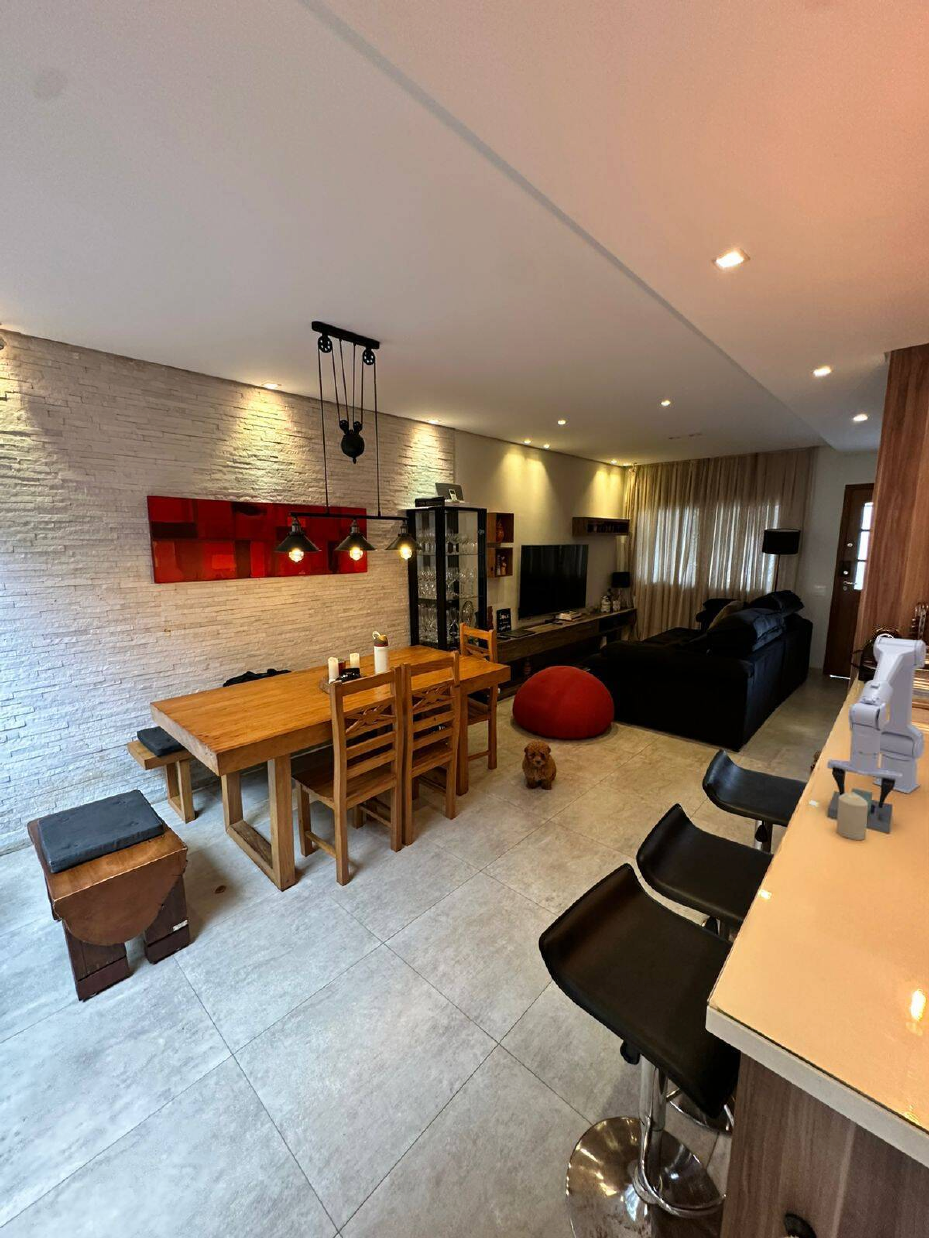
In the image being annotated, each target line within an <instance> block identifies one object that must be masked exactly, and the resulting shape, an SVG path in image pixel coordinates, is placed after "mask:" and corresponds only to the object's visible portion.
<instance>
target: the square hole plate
mask: <svg viewBox="0 0 929 1238" xmlns="http://www.w3.org/2000/svg"><path fill="white" fill-rule="evenodd" d="M839 796H840V793H839V791H836V790H834V792H833V793H832V797H831V801H830V803H829V805H828V809H827V818H829V819H833V820H836V821H837V816H838V801H839ZM892 816H893V804H892V803H891V804H890V803H886V802H884V803H883V806H882V808H879V800H873V799H872V803H871V813H867V825H866V829H871V830H874V831H876V832H877V831H878V832H882V833H885V834H890V833H891V823H892Z"/></svg>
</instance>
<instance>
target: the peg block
mask: <svg viewBox="0 0 929 1238" xmlns="http://www.w3.org/2000/svg"><path fill="white" fill-rule="evenodd" d="M850 792H854V793H856V794H858V795H859V796H861V797H862V798H863V799H865V800H866V801H867V802H868V812H867V813H871V803H872V800H873V792H870V791H867V790H861V789H857V788H854V787H852V788H851V791H850Z"/></svg>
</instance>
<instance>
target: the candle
mask: <svg viewBox="0 0 929 1238" xmlns="http://www.w3.org/2000/svg"><path fill="white" fill-rule="evenodd" d="M867 812H868V802H867V801H866V800H865V799H863V798H862V797H861V796H859V795H858V794H856V793H854V792H851V791H846V792H845V793H844V794H842V795H841V796H839V801H838V816H837V820H836V832H837V834H839V835H840V836H843V837H845V838H846V839H849V840H855V841H862V840H865V839H866V835H867V828H866V825H867Z"/></svg>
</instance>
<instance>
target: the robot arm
mask: <svg viewBox="0 0 929 1238" xmlns="http://www.w3.org/2000/svg"><path fill="white" fill-rule="evenodd" d="M926 655H927V646H926V643H925V642H924V641H923V640H922V639H920V640H917V639H915V640H913V639H904V638H893V637H892V638H891V637H884V636H878V638H876V639H875V641H874V644H873V656H874V659H875V661H876V662H877V666H876V669H875V671H874V676H873V679H872V680H871V679H870V680H868V681H866V683H865V684H864V686H863V689H862V691H861V693H860V695H859V697H858V700H857V702H856V703H852V704H851V705H850V707H849V711H848V715H847V716H848V723H849V731H851V733H850V734H851V737H850V747H849V748H850V750H849V761H847V760H839V759H831V758H828V760H827V769H830V770H831V774H832V777H833V778H834V780H835V782H836V785H837V788H838V792H839V793H840V796H841V795H842V794H844V793H846V792H845V788H846V787H845V780H846V772H849V773H853V774H856V775H859V776H865V777H867V776H868V777H871V778H876V779H875V780H873V782H872V783H873V784H874V785H877V786H880V796H879V800H878V801H879V808H882V806H883V803H885V800H886V799H887V797H888V795H889V794H890V792H892V790H894V791H896V792H897V791H898V792H901V793H904V794H910V793H911V792H913V791H914V790H915V789H917V788H918V787H919V786H921V783H919V782H917V775H918V761H917V760H918V759H920V758H921V757H922V756H923V753H924V749H925V740H924V732H923V730H921V729H919V728H918V727H916V725H914V724H912V711H913V709H912V708H913V697H914V682H915V673H916V670H917V669H919V668H924V667H925V664H926V659H927V658H926V657H927V656H926ZM888 706H889V709H888ZM888 710H889V712H888ZM888 713H889V714H888ZM887 715H888V720H887ZM880 755H881V757H880ZM879 763H880V765H879ZM879 766H880V767H879Z"/></svg>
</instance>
